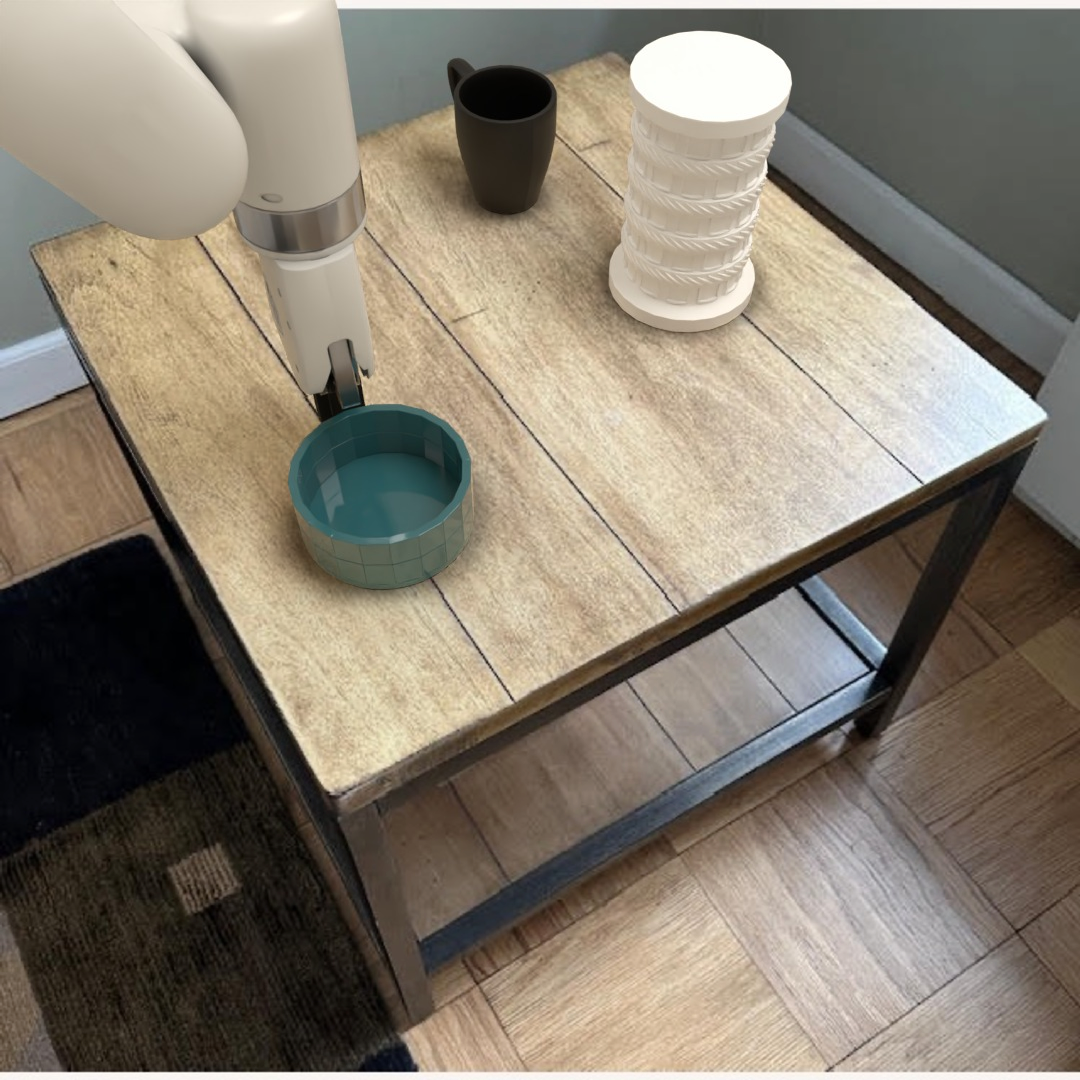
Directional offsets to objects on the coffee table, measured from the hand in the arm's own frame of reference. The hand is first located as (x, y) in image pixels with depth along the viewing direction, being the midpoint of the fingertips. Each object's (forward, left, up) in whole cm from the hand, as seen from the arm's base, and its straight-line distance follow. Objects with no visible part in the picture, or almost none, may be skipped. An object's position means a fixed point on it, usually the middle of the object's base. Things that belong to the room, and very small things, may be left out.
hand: (342, 415), depth 77 cm
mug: (+12, +28, -2) cm, 31 cm away
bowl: (+3, -8, -2) cm, 9 cm away
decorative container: (+26, +14, -2) cm, 30 cm away
